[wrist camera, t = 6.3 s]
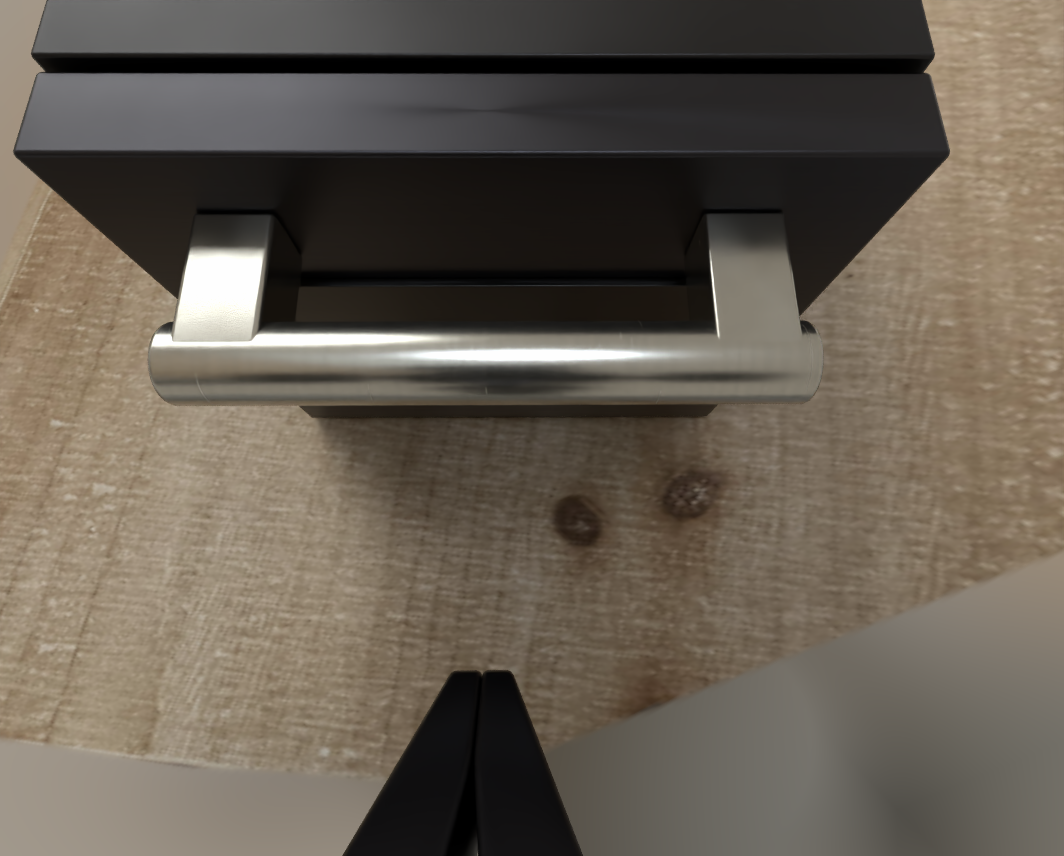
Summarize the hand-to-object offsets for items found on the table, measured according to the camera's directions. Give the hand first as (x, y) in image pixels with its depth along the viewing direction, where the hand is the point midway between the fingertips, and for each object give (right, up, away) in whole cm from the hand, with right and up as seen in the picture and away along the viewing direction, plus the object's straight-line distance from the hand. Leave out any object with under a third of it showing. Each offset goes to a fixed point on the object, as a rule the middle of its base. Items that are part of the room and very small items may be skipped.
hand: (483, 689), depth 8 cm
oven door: (0, +3, +12) cm, 13 cm away
